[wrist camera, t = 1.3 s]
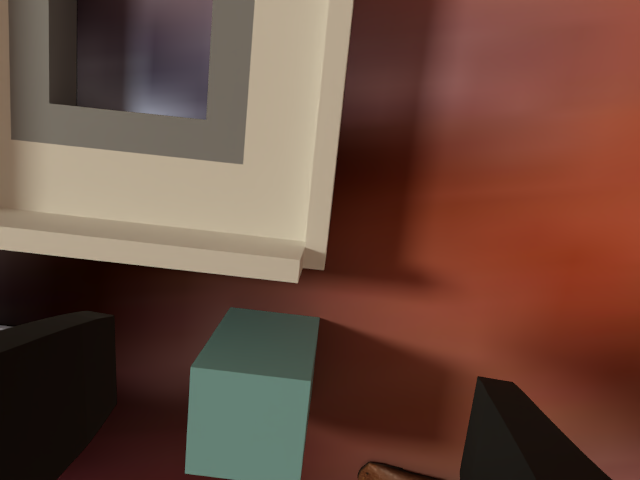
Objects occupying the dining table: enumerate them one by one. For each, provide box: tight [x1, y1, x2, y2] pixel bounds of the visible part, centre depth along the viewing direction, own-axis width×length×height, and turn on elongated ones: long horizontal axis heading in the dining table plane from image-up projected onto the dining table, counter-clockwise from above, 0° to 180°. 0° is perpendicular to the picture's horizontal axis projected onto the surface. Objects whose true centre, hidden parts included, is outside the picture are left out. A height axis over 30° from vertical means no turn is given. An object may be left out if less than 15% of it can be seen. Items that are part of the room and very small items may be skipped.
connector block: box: [185, 307, 320, 480], centre depth 20 cm, size 4×4×6 cm
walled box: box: [0, 0, 354, 283], centre depth 18 cm, size 16×16×5 cm
